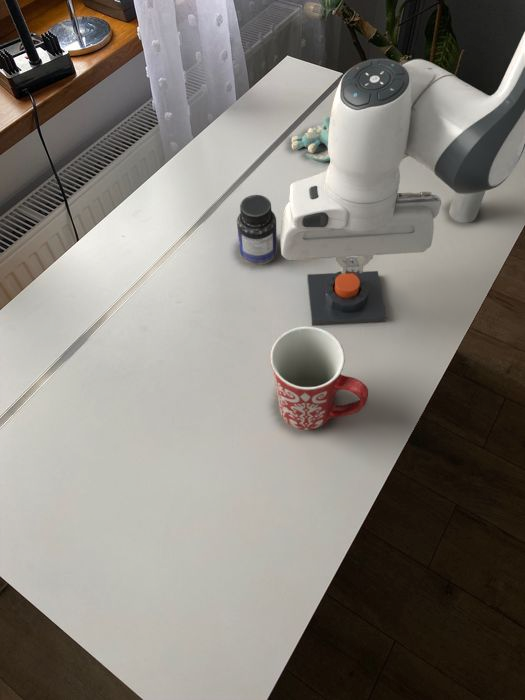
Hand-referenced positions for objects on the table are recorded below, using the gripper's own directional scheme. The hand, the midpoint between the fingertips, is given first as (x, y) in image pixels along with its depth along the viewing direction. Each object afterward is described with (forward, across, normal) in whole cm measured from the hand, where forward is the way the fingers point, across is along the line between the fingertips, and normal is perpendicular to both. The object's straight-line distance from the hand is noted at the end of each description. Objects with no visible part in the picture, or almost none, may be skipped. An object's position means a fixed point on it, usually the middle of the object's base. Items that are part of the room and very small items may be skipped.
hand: (351, 270), depth 86 cm
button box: (+8, 0, 0) cm, 8 cm away
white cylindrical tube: (+8, -22, -17) cm, 29 cm away
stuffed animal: (+8, 0, -37) cm, 38 cm away
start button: (+5, 0, 0) cm, 5 cm away
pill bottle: (+8, +13, -11) cm, 19 cm away
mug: (+8, +6, +19) cm, 21 cm away
